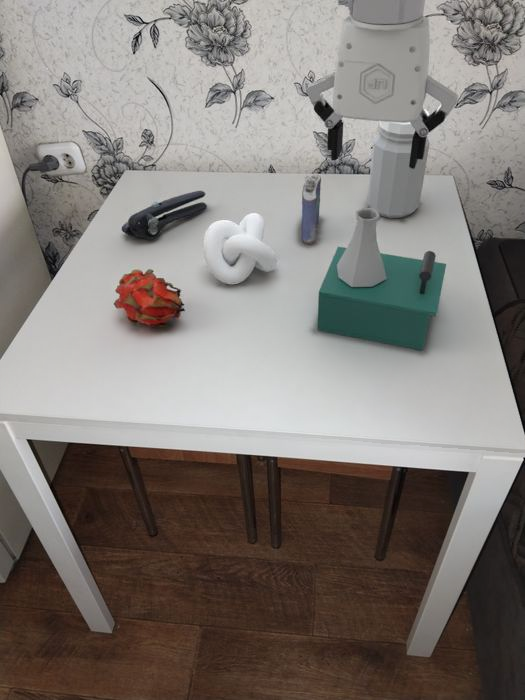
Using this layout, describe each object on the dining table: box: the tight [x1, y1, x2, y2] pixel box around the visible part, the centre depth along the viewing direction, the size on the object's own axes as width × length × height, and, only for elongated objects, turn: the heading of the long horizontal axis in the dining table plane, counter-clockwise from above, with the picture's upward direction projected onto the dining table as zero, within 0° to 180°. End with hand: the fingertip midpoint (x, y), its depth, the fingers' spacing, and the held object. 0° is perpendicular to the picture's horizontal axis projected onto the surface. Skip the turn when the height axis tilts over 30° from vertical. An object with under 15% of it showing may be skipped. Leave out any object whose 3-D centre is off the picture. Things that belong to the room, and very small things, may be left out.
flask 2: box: [301, 174, 322, 245], centre depth 104 cm, size 9×3×11 cm, turn 170°
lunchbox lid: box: [318, 246, 447, 317], centre depth 84 cm, size 16×12×5 cm
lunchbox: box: [316, 294, 431, 351], centre depth 88 cm, size 16×12×7 cm
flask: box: [337, 207, 387, 287], centre depth 83 cm, size 7×7×10 cm
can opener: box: [121, 190, 208, 240], centre depth 109 cm, size 18×7×6 cm, turn 131°
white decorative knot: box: [202, 212, 278, 285], centre depth 97 cm, size 11×12×9 cm
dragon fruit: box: [113, 269, 186, 329], centre depth 90 cm, size 8×8×12 cm
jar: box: [367, 108, 431, 219], centre depth 106 cm, size 10×10×18 cm
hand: (374, 159), depth 73 cm, fingers open, 9 cm apart
